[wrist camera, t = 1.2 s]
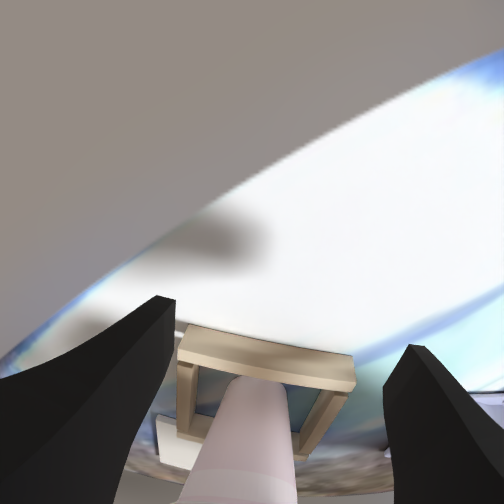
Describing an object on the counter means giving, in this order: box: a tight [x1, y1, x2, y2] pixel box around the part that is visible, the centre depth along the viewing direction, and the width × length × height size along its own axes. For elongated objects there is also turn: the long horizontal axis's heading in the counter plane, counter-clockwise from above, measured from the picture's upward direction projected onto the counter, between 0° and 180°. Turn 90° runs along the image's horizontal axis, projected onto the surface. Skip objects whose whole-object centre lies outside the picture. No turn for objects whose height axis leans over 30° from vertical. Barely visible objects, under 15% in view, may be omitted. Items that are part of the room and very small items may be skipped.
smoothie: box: [171, 375, 297, 504], centre depth 12 cm, size 6×6×14 cm
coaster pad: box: [156, 414, 203, 470], centre depth 22 cm, size 8×8×1 cm
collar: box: [176, 324, 357, 461], centre depth 17 cm, size 9×9×2 cm
